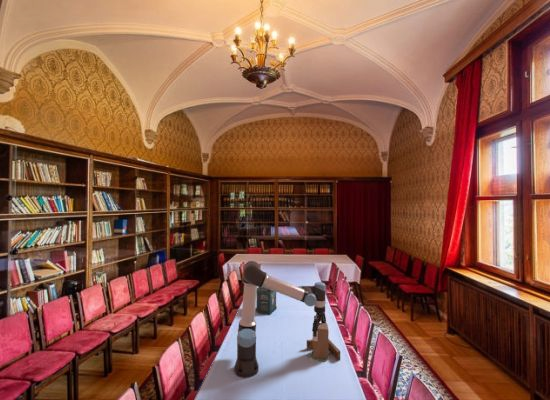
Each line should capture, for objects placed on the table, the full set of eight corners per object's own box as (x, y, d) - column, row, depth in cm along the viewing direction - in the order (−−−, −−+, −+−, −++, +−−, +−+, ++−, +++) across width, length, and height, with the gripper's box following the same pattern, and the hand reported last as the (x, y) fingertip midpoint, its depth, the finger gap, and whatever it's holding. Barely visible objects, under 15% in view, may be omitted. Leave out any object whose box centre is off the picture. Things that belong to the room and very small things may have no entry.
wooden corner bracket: (318, 363, 194) (318, 354, 194) (306, 348, 213) (306, 340, 213) (340, 360, 199) (340, 351, 198) (327, 345, 218) (327, 337, 218)
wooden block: (312, 350, 209) (312, 322, 209) (326, 351, 209) (327, 323, 208) (313, 358, 200) (313, 328, 199) (328, 359, 199) (328, 329, 198)
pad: (324, 362, 196) (324, 361, 196) (307, 357, 202) (307, 356, 202) (330, 353, 207) (330, 353, 207) (314, 349, 212) (314, 348, 212)
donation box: (270, 315, 273) (270, 284, 272) (254, 312, 279) (254, 282, 278) (276, 308, 288) (276, 279, 287) (261, 306, 294) (261, 278, 293)
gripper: (318, 312, 191) (317, 346, 191) (331, 301, 213) (330, 331, 213) (307, 310, 195) (306, 343, 195) (321, 299, 216) (320, 328, 217)
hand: (319, 336), depth 204 cm, fingers open, 13 cm apart
